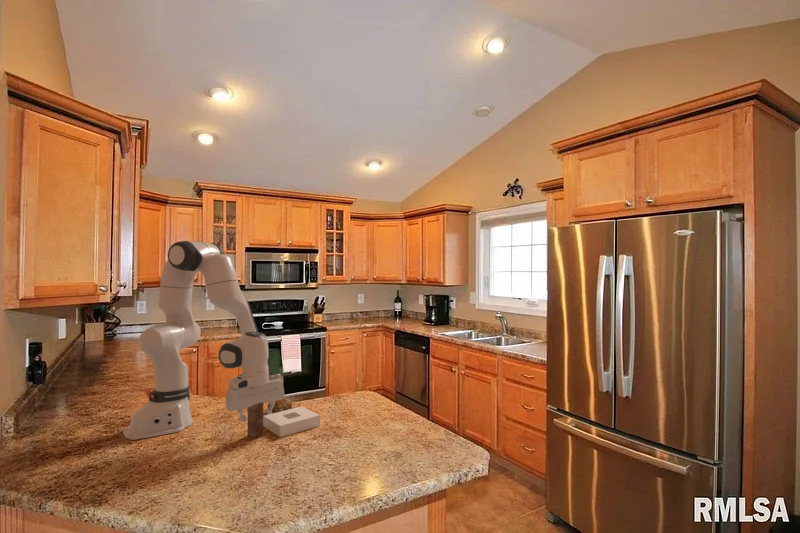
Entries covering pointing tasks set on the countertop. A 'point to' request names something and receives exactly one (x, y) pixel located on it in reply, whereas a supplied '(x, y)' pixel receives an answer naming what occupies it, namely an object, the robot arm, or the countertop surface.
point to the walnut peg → (255, 421)
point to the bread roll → (281, 405)
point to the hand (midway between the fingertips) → (256, 417)
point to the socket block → (291, 421)
